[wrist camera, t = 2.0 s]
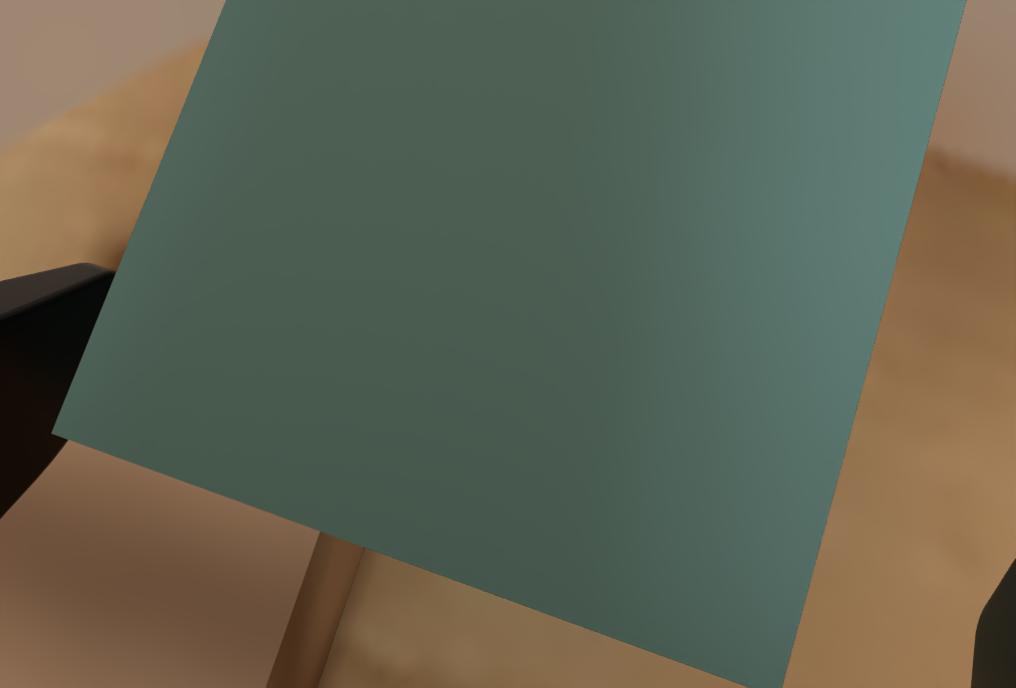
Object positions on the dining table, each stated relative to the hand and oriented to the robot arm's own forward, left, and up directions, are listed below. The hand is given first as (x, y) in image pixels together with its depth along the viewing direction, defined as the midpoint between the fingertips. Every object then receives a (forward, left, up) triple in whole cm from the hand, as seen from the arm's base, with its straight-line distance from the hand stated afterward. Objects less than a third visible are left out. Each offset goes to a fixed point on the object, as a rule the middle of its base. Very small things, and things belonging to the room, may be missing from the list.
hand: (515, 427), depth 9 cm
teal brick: (+1, 0, -9) cm, 9 cm away
